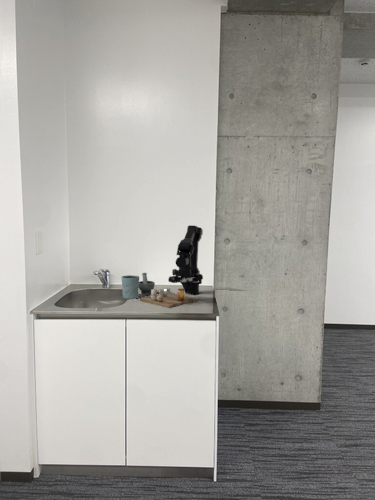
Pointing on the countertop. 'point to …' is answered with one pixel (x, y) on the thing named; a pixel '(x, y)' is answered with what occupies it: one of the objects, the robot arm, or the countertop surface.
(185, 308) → the countertop surface
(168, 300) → the board
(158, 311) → the countertop surface
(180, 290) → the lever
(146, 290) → the mortar and pestle
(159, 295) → the dough ball
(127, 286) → the teal ceramic pot
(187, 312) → the countertop surface
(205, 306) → the countertop surface
